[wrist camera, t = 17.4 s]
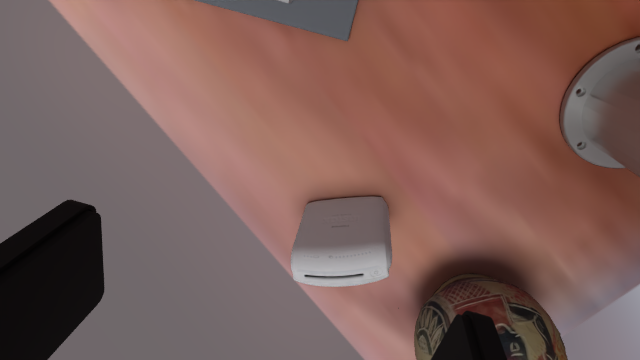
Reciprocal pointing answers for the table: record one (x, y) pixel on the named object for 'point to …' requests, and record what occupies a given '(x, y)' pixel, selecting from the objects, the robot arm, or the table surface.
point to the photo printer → (343, 242)
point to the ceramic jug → (502, 306)
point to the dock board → (299, 13)
